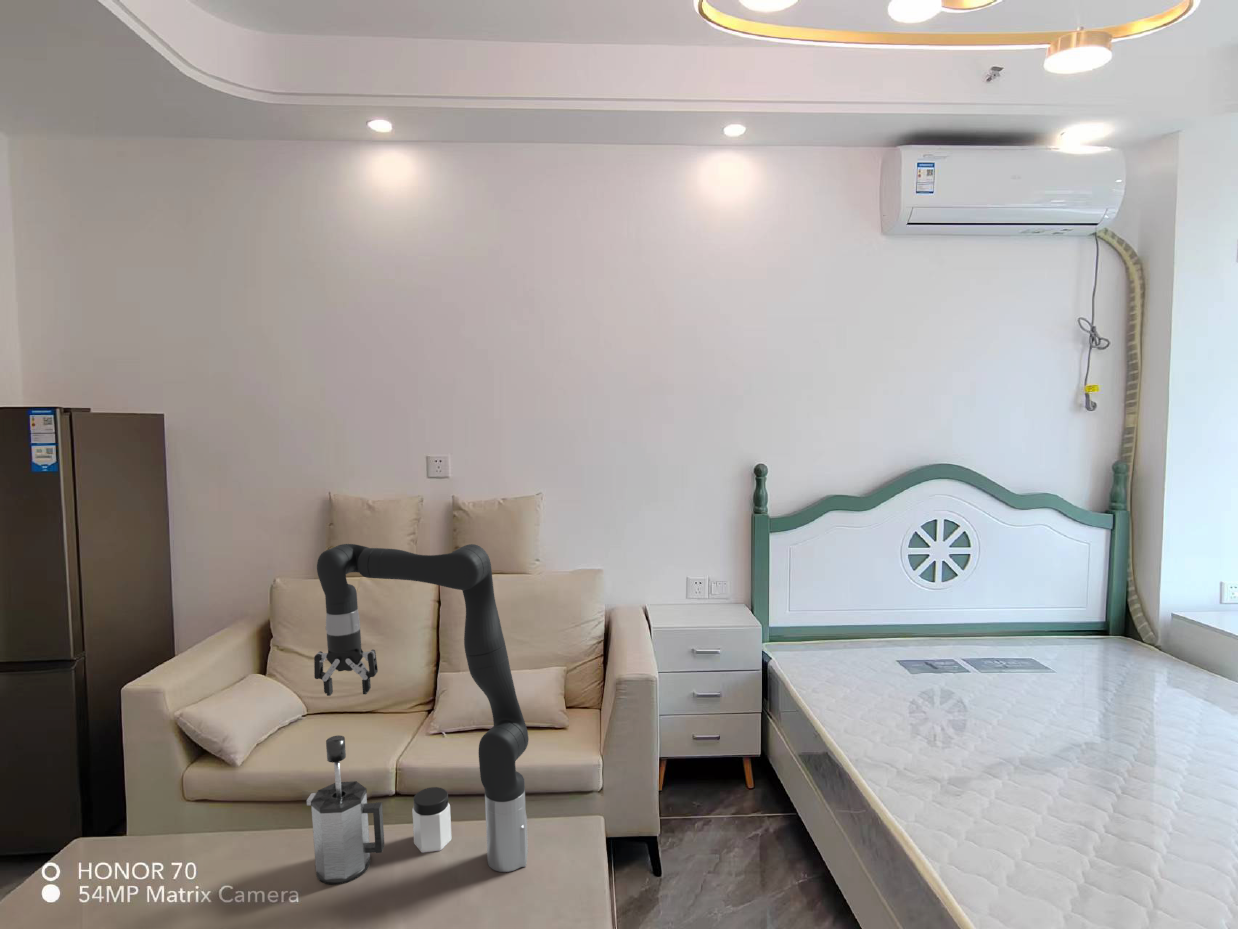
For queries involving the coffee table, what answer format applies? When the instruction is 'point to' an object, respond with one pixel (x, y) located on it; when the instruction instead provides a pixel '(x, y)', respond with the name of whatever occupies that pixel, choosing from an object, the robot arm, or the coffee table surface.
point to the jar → (431, 819)
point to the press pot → (344, 832)
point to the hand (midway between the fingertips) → (347, 693)
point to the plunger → (336, 758)
